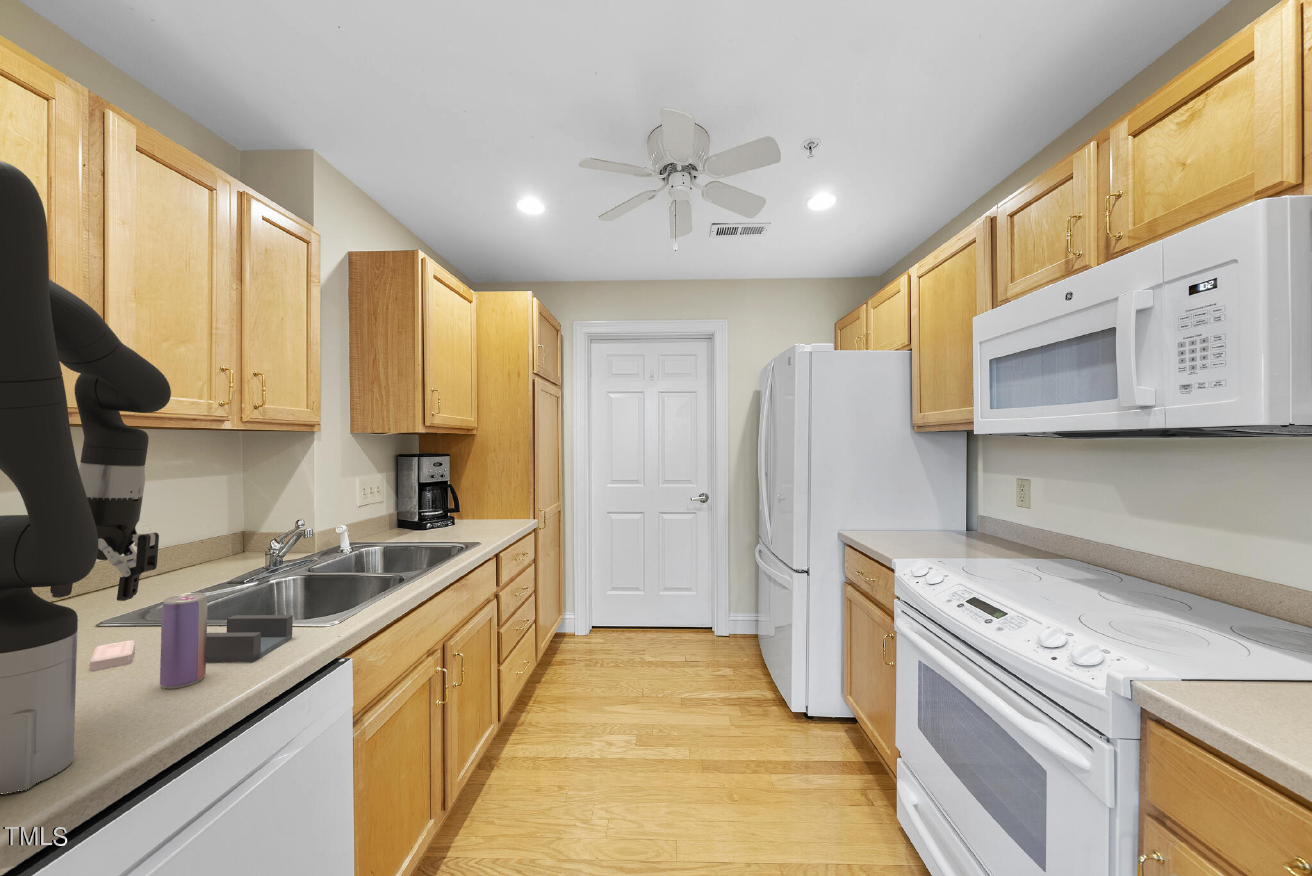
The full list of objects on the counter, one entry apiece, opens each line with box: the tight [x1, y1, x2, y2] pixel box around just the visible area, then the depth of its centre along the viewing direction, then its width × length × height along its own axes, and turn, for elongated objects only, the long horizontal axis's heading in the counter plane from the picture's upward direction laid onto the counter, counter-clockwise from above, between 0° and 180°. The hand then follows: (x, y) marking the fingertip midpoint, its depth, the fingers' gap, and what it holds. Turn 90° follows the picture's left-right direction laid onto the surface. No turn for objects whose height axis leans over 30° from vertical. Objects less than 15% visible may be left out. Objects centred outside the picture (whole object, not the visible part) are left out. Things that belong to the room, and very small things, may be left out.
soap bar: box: [89, 639, 136, 672], centre depth 99 cm, size 5×9×2 cm, turn 43°
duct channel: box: [206, 614, 294, 664], centre depth 105 cm, size 12×12×5 cm
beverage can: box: [159, 592, 208, 690], centre depth 91 cm, size 6×6×15 cm
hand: (93, 598), depth 79 cm, fingers open, 8 cm apart
